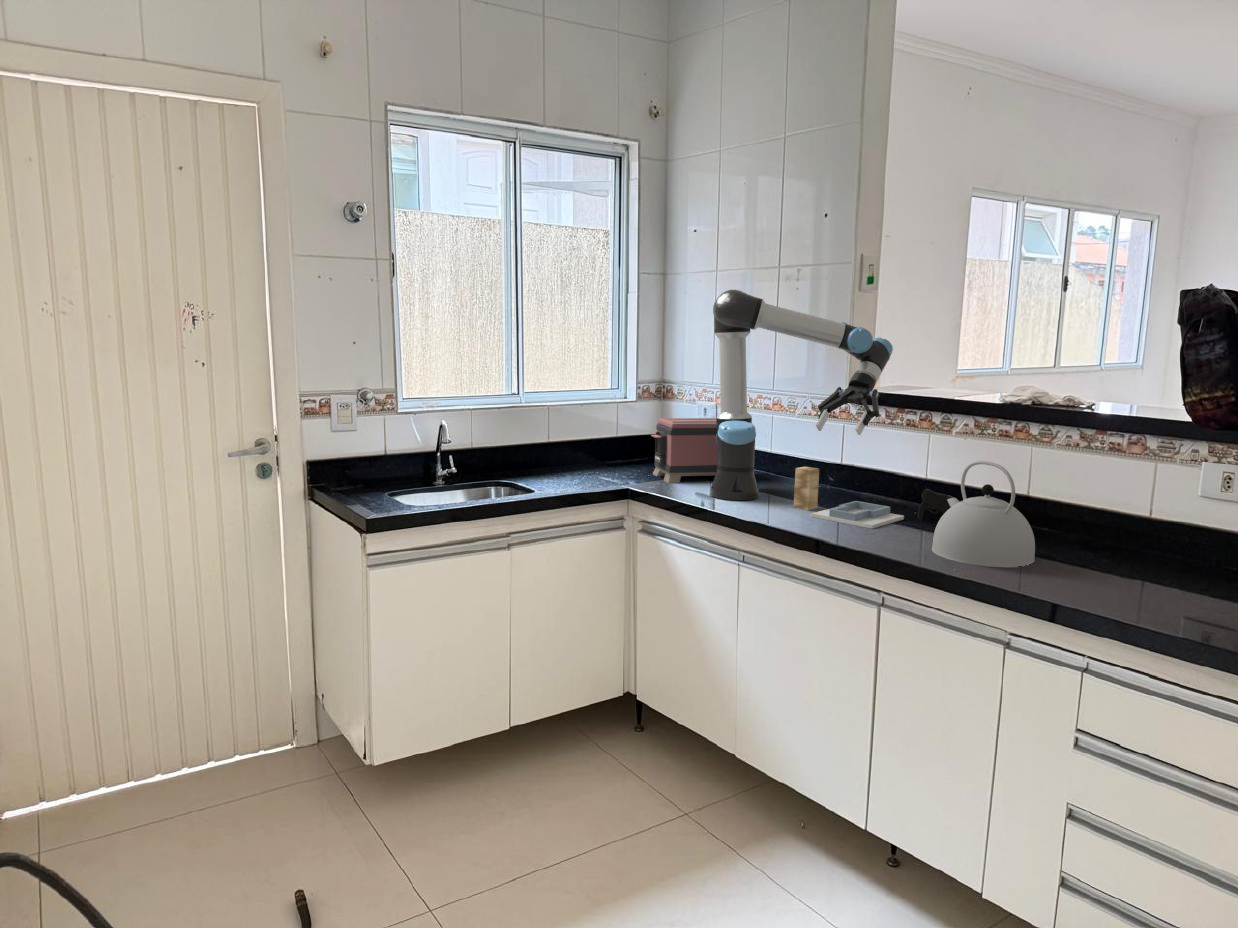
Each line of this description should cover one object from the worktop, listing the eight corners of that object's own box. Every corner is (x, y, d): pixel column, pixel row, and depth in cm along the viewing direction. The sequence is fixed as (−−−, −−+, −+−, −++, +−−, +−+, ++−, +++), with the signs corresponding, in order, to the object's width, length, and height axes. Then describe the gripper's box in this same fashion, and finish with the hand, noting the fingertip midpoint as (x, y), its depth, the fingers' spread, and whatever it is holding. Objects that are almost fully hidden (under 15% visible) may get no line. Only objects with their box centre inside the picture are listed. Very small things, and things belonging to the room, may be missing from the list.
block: (793, 507, 252) (795, 468, 250) (802, 505, 256) (804, 466, 254) (807, 510, 249) (810, 470, 247) (817, 508, 252) (819, 468, 250)
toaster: (644, 474, 307) (646, 418, 304) (732, 472, 315) (734, 417, 312) (659, 483, 288) (661, 423, 285) (752, 481, 297) (755, 423, 294)
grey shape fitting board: (811, 516, 240) (811, 506, 239) (843, 508, 252) (844, 498, 252) (872, 528, 227) (872, 517, 226) (903, 519, 239) (904, 508, 239)
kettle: (906, 543, 212) (913, 454, 208) (982, 538, 218) (990, 452, 215) (974, 570, 188) (982, 470, 185) (1057, 564, 195) (1067, 468, 191)
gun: (961, 544, 235) (981, 514, 233) (909, 514, 236) (929, 484, 234) (959, 541, 238) (979, 512, 235) (908, 512, 239) (927, 482, 237)
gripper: (905, 389, 260) (879, 441, 252) (833, 385, 278) (806, 434, 269) (898, 372, 256) (871, 425, 248) (825, 369, 273) (798, 418, 265)
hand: (837, 430), depth 259 cm, fingers open, 13 cm apart
